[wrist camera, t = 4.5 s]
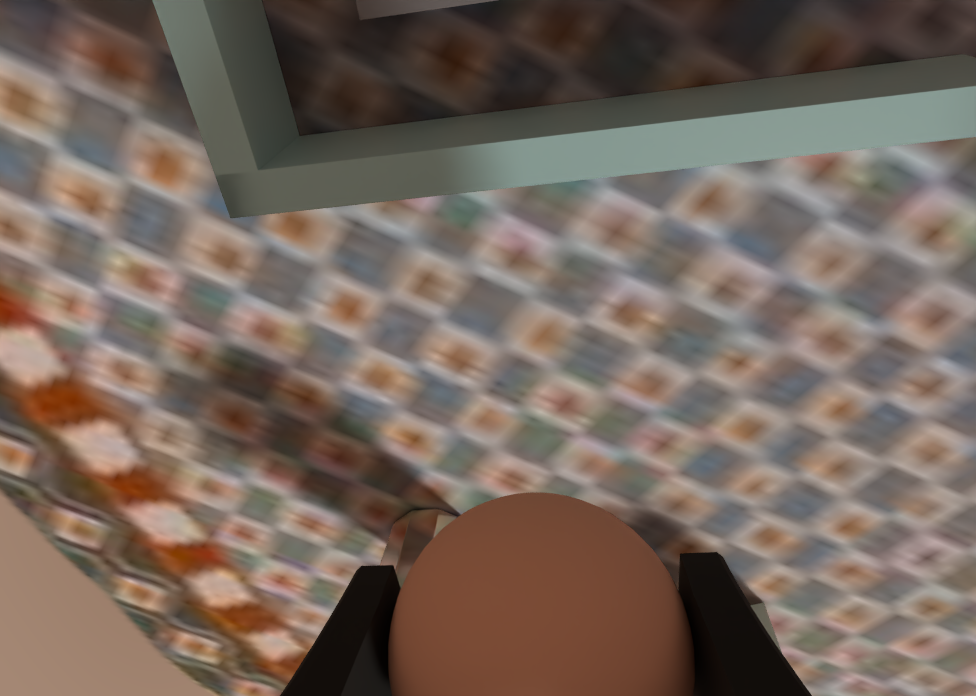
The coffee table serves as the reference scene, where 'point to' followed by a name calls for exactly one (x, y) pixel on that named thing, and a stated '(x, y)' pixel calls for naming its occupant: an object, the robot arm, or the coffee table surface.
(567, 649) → the ball
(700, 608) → the robot arm
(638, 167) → the divider wall
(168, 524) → the coffee table surface
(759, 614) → the right angle wall
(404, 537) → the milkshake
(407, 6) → the tray
